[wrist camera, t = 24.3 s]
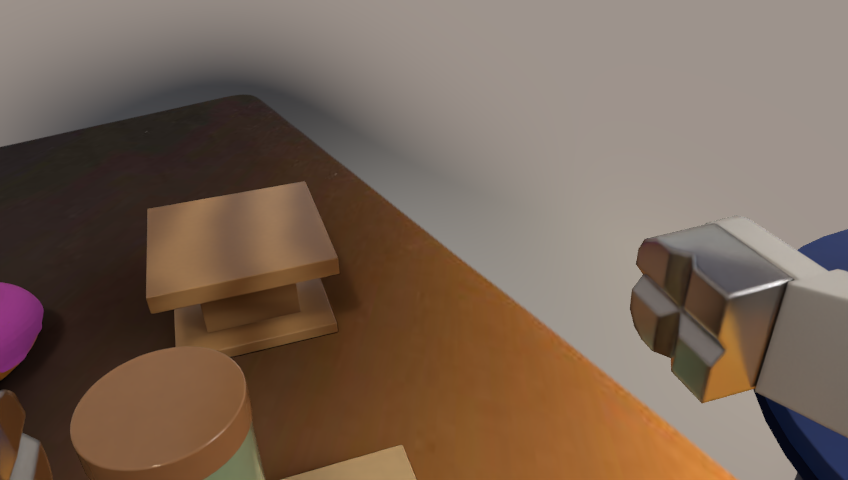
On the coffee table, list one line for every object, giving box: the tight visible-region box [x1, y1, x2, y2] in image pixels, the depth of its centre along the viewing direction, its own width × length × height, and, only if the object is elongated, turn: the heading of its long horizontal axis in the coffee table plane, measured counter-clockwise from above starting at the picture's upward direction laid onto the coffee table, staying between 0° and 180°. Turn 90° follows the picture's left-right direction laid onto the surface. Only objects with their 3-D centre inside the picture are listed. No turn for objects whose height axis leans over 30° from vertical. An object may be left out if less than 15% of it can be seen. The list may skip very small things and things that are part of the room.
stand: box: [146, 181, 340, 357], centre depth 45 cm, size 11×11×6 cm
